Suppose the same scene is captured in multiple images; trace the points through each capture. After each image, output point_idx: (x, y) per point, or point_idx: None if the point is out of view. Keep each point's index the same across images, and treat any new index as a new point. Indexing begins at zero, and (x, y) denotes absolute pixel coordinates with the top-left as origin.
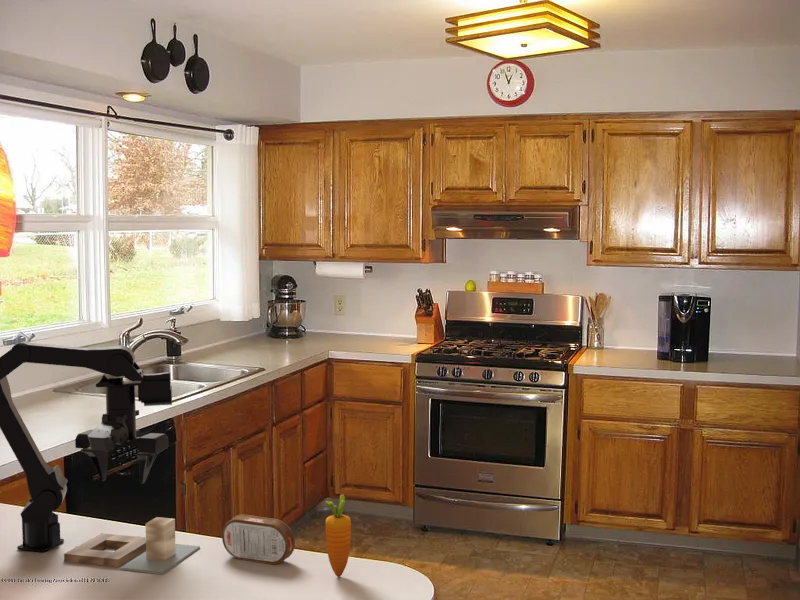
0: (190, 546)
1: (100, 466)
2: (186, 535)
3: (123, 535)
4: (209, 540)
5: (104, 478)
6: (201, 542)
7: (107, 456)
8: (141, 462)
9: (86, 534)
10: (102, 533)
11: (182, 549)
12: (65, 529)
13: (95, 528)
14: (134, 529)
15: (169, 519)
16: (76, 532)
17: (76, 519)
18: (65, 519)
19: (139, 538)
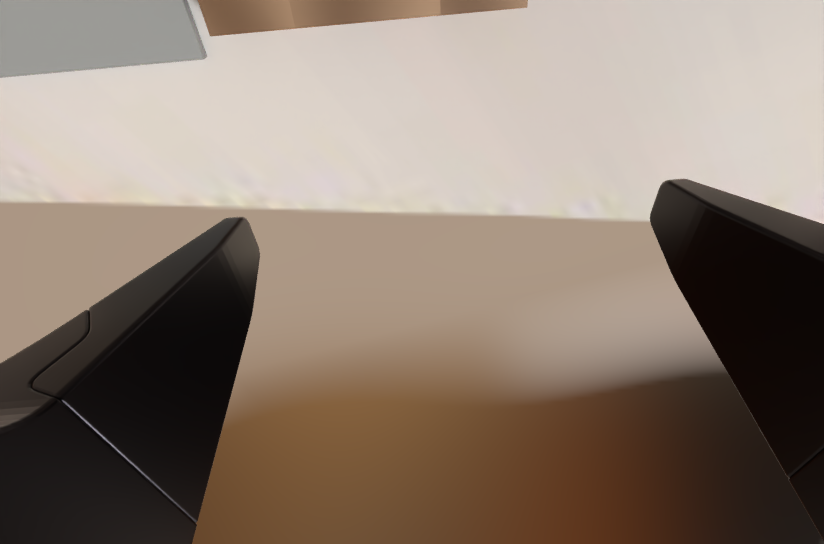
0: (21, 58)
1: (788, 259)
2: (206, 190)
3: (388, 18)
4: (71, 173)
5: (662, 211)
6: (74, 143)
7: (776, 441)
8: (37, 385)
9: (634, 54)
10: (519, 6)
11: (7, 2)
12: (764, 80)
13: (623, 136)
14: (452, 179)
15: None
16: (695, 62)
17: (745, 197)
18: (793, 183)
19: (270, 3)
